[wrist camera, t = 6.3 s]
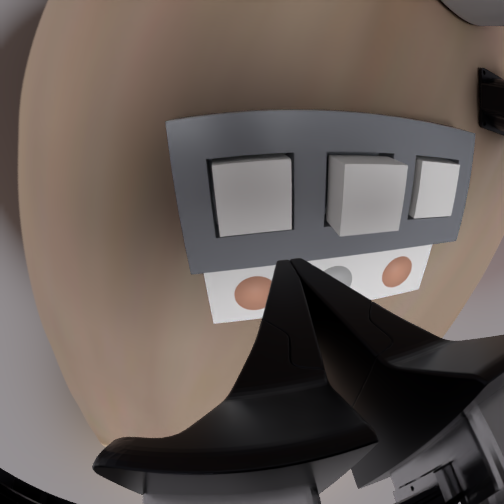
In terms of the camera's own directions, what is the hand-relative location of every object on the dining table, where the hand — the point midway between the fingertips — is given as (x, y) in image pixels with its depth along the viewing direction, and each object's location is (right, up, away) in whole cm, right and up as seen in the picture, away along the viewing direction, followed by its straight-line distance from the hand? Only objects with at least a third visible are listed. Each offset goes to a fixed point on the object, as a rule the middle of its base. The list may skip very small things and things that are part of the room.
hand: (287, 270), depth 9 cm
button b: (+13, +6, +9) cm, 17 cm away
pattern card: (+6, -2, +15) cm, 16 cm away
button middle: (+6, +5, +8) cm, 11 cm away
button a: (-1, +5, +8) cm, 10 cm away
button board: (+5, +6, +10) cm, 13 cm away
